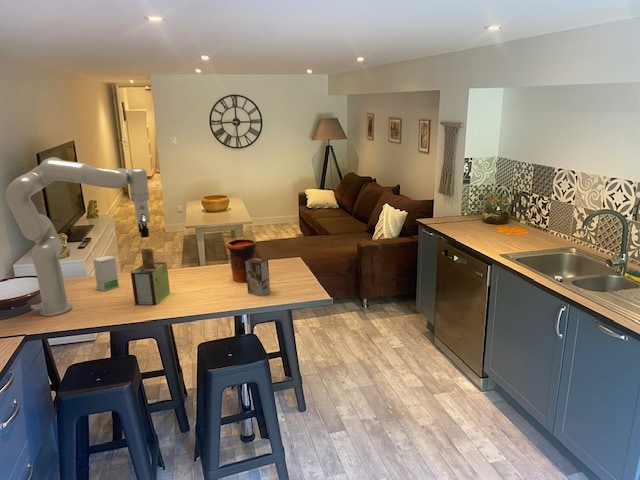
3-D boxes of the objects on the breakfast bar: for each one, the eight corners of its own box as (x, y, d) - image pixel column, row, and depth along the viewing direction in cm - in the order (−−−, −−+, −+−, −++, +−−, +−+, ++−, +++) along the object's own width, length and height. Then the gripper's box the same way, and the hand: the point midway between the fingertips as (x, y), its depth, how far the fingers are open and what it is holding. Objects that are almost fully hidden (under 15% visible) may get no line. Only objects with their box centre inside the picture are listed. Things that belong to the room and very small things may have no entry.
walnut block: (144, 269, 215) (142, 252, 213) (143, 266, 219) (141, 249, 217) (154, 267, 217) (152, 250, 215) (153, 264, 221) (151, 248, 218)
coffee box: (270, 291, 227) (269, 259, 222) (263, 296, 221) (261, 263, 217) (254, 288, 231) (252, 257, 227) (246, 293, 226) (244, 261, 221)
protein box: (170, 292, 229) (167, 261, 225) (156, 305, 214) (152, 272, 210) (149, 292, 230) (145, 261, 226) (134, 304, 215) (129, 272, 211)
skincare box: (103, 292, 231) (99, 261, 227) (96, 289, 235) (91, 259, 231) (119, 286, 238) (115, 256, 233) (112, 284, 241) (108, 254, 237)
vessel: (225, 277, 247) (223, 240, 242) (252, 273, 253) (250, 237, 248) (232, 286, 235) (231, 247, 229) (260, 282, 241) (259, 243, 235)
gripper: (151, 199, 203) (155, 238, 208) (146, 193, 218) (150, 229, 223) (132, 200, 200) (137, 240, 204) (129, 194, 215) (133, 231, 220)
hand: (143, 234), depth 214 cm, fingers open, 9 cm apart
